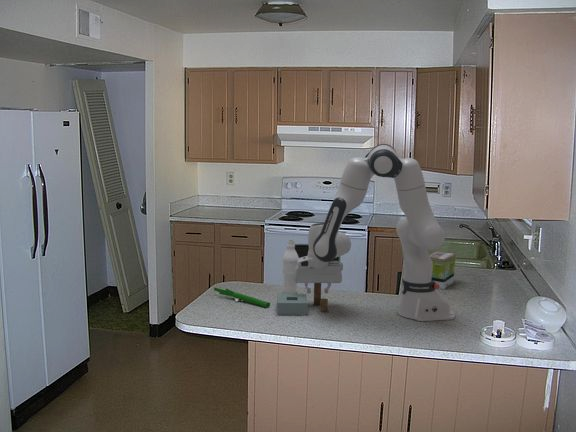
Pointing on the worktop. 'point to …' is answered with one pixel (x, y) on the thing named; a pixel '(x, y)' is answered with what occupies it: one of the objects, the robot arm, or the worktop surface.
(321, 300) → the short peg
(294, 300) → the hole block
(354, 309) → the worktop surface
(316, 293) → the long peg
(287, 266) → the water bottle
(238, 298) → the green onion
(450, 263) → the tea box
